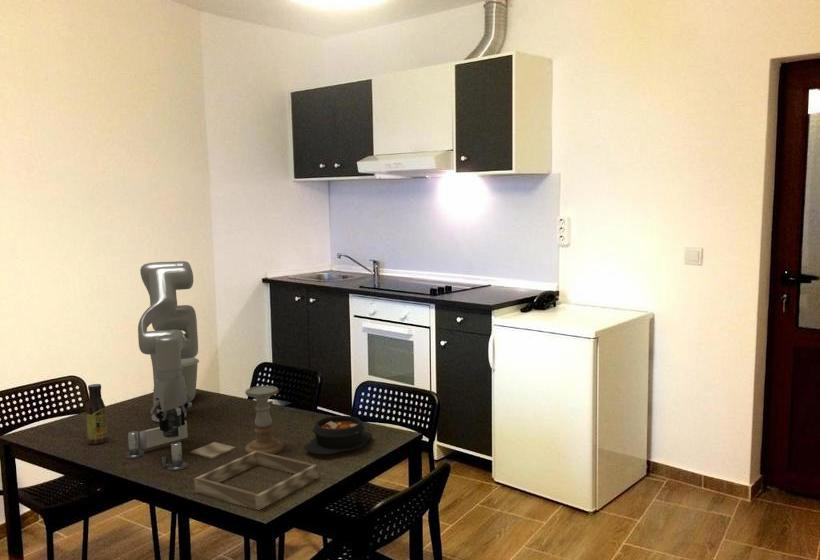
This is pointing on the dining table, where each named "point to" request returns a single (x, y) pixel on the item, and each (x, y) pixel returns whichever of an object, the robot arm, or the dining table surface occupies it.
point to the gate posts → (175, 452)
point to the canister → (190, 375)
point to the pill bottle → (174, 423)
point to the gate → (158, 437)
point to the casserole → (338, 435)
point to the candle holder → (263, 421)
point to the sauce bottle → (96, 416)
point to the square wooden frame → (215, 489)
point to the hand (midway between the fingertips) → (172, 427)
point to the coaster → (213, 450)
